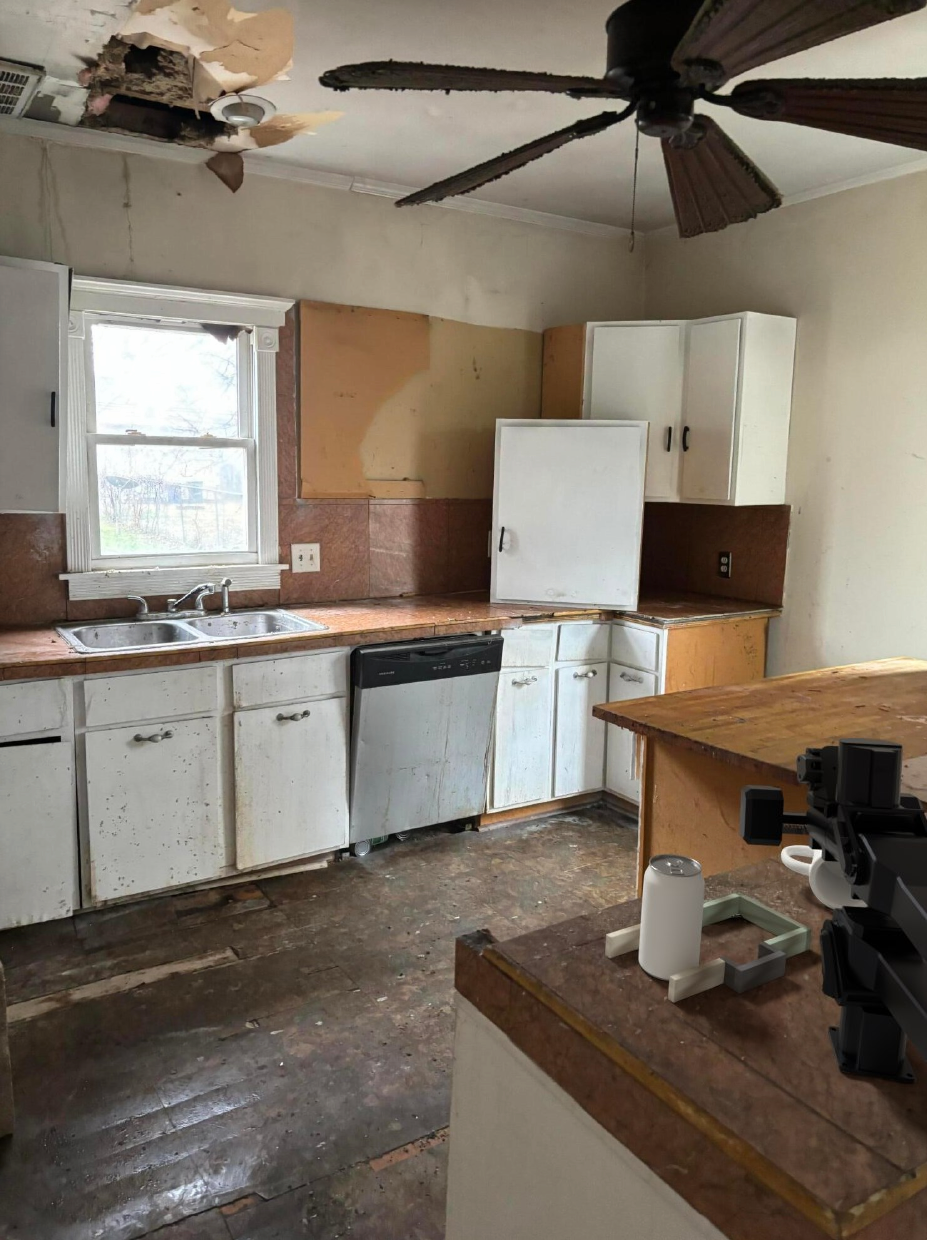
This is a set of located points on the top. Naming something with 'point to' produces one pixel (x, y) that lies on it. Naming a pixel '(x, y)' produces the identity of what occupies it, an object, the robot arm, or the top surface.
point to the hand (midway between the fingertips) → (805, 801)
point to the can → (671, 915)
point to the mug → (822, 877)
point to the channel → (724, 970)
